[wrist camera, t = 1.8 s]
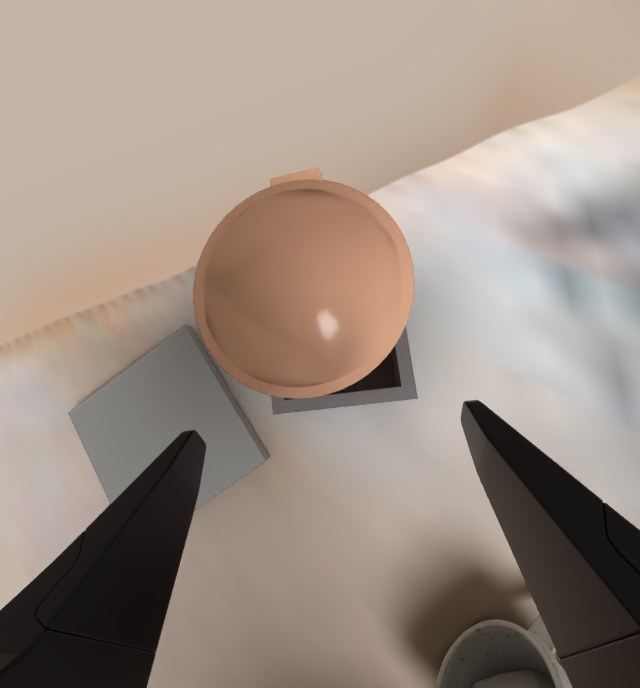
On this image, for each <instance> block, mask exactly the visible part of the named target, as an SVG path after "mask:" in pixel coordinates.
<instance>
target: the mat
mask: <svg viewBox="0 0 640 688" xmlns="http://www.w3.org/2000/svg"><path fill="white" fill-rule="evenodd" d="M68 414H69V416H70V418H71V420H72V422H73V424H74V427H75V429H76V431H77V433H78V435H79V437H80V439H81V442H82V444H83V446H84V448H85V450H86V452H87V454H88V457H89V459H90V461H91V463H92V465H93V467H94V469H95V472H96V474H97V476H98V478H99V480H100V482H101V484H102V487H103V489H104V491H105V493H106V495H107V497H108V499H109V502H110V504H111V503H112V502H113V501H114V500H115V499H116V498H117V497H118V496H119V495H120V494H121V493H122V492H123V491H124V490H125V489H126V488H127V487H128V486H129V485H130V484H131V483H132V482H133V481H134V480H135V479H136V478H137V477H138V476H139V475H140V474H141V473H142V472H143V471H144V470H145V469H146V468H147V467H148V466H149V465H150V464H151V463H152V462H153V461H154V460H155V459H156V458H157V457H158V456H159V455H160V454H161V453H162V452H163V451H164V450H165V449H166V448H167V447H168V446H169V445H170V444H171V443H172V442H173V441H174V440H175V439H176V438H177V437H178V436H179V435H180V434H181V433H182V432H183V431H187V430H196V431H197V432H198V434H199V435H200V436H201V437H202V439H203V440H204V441H205V443H206V454H205V460H204V466H203V472H202V478H201V484H200V489H199V494H198V498H197V502H196V505H195V509H197V508H198V507H200V506H201V505H202V504H204V503H205V502H207V501H208V500H210V499H211V498H212V497H214V496H215V495H217V494H218V493H220V492H221V491H222V490H224V489H225V488H227V487H228V486H229V485H231V484H232V483H234V482H235V481H237V480H238V479H239V478H241V477H242V476H244V475H245V474H247V473H248V472H249V471H251V470H252V469H254V468H255V467H257V466H258V465H259V464H261V463H262V462H264V461H265V460H266V459H268V458H269V457H270V456H269V454H268V452H267V451H266V449H265V447H264V446H263V444H262V442H261V441H260V439H259V437H258V436H257V434H256V432H255V431H254V429H253V428H252V426H251V424H250V423H249V421H248V419H247V418H246V416H245V414H244V413H243V411H242V409H241V408H240V406H239V404H238V403H237V401H236V399H235V398H234V396H233V395H232V393H231V391H230V390H229V388H228V386H227V385H226V383H225V381H224V380H223V378H222V376H221V375H220V373H219V371H218V370H217V368H216V367H215V365H214V363H213V362H212V360H211V358H210V357H209V355H208V353H207V352H206V350H205V348H204V347H203V345H202V343H201V342H200V340H199V338H198V337H197V335H196V334H195V332H194V330H193V329H192V327H188V326H185V325H184V326H183V327H181V328H180V329H179V330H177V331H176V332H175V333H173V334H172V335H171V336H169V337H168V338H167V339H165V340H164V341H163V342H161V343H160V344H159V345H157V346H156V347H155V348H153V349H152V350H151V351H149V352H148V353H147V354H145V355H144V356H143V357H141V358H140V359H139V360H137V361H136V362H135V363H133V364H132V365H131V366H129V367H128V368H127V369H125V370H124V371H123V372H122V373H120V374H119V375H118V376H116V377H115V378H114V379H112V380H111V381H110V382H108V383H107V384H106V385H104V386H103V387H102V388H100V389H99V390H98V391H96V392H95V393H94V394H92V395H91V396H90V397H88V398H87V399H86V400H84V401H83V402H82V403H80V404H79V405H78V406H76V407H75V408H74V409H72V410H71V411H70V412H68ZM195 509H194V510H195Z"/></svg>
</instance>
